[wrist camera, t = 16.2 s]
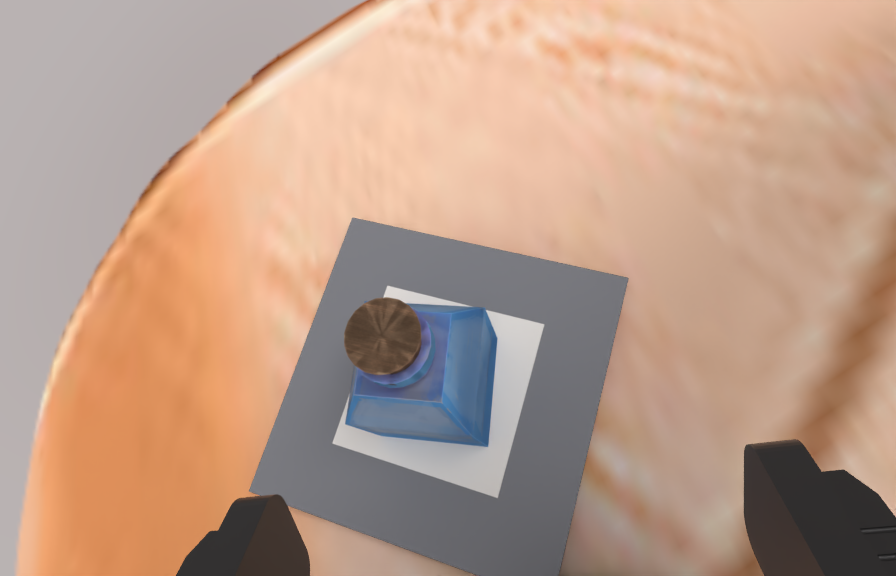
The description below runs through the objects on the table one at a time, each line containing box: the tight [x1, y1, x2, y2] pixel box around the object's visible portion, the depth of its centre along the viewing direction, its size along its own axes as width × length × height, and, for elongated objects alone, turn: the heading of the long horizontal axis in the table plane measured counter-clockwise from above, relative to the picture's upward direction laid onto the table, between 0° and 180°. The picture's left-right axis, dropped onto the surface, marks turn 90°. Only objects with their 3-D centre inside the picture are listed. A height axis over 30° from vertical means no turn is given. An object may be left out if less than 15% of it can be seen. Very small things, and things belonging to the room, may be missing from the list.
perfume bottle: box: [344, 297, 498, 447], centre depth 29 cm, size 6×6×12 cm
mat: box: [249, 218, 628, 576], centre depth 35 cm, size 18×18×1 cm
